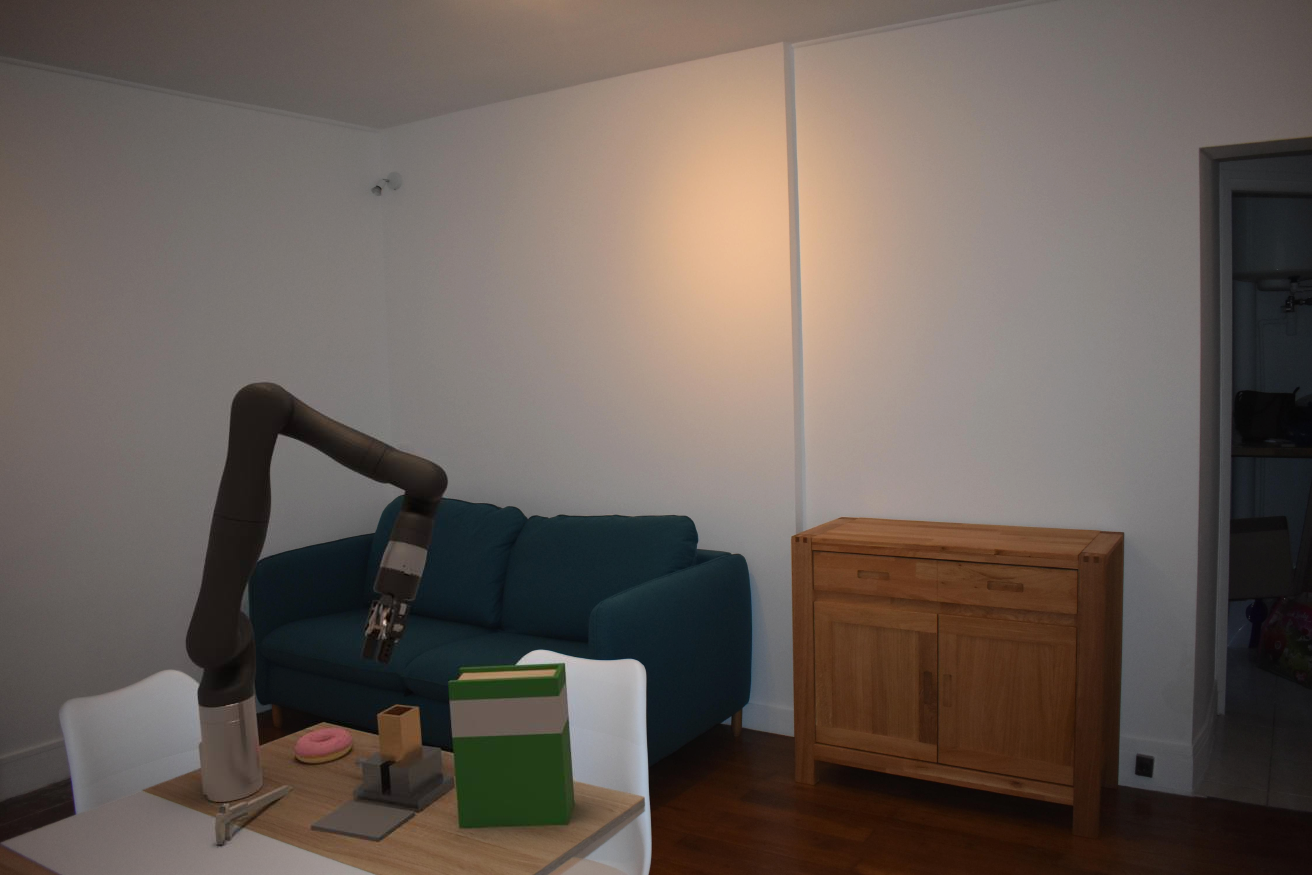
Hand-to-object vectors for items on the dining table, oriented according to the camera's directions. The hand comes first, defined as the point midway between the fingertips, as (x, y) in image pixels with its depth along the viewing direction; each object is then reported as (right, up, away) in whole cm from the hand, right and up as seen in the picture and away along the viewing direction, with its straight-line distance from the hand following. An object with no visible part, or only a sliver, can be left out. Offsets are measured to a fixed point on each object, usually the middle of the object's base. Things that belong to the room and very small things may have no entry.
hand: (373, 660), depth 158 cm
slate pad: (+1, -25, -9) cm, 26 cm away
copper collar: (+5, -17, +1) cm, 17 cm away
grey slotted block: (+4, -24, +2) cm, 24 cm away
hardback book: (+27, -23, -9) cm, 37 cm away
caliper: (-19, -26, -4) cm, 32 cm away
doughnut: (-16, -24, +21) cm, 36 cm away
